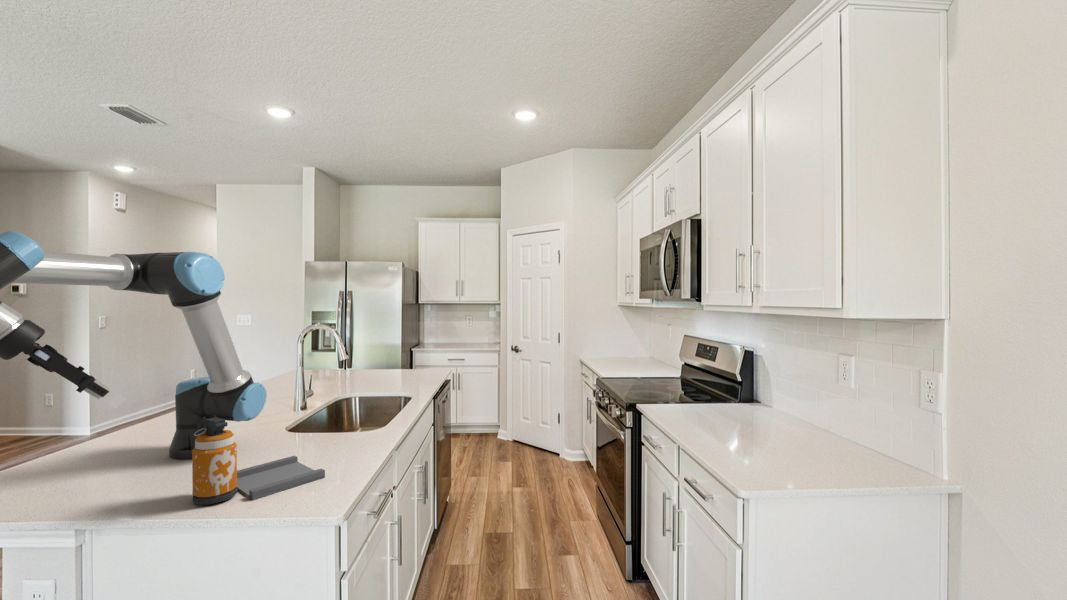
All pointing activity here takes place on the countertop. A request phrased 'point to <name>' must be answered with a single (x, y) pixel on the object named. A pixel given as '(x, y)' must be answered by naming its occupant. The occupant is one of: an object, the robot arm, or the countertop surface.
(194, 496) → the canister
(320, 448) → the countertop surface
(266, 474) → the tray
